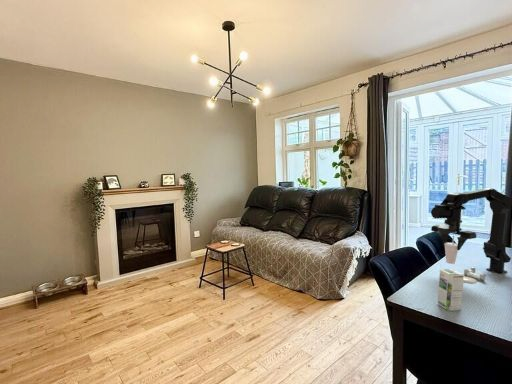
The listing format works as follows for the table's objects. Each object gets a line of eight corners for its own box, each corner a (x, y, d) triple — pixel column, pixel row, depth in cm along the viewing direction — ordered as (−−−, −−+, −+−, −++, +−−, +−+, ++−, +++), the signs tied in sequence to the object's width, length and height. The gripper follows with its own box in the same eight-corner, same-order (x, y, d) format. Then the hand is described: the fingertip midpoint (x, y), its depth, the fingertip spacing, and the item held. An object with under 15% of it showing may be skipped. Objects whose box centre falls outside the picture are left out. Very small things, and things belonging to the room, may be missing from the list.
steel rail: (471, 272, 141) (472, 267, 141) (492, 279, 133) (492, 273, 133) (463, 275, 138) (463, 269, 138) (483, 281, 130) (483, 275, 130)
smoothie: (460, 265, 136) (462, 237, 135) (446, 264, 138) (448, 237, 136) (454, 260, 143) (456, 234, 141) (440, 259, 144) (442, 233, 143)
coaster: (462, 275, 138) (462, 274, 138) (480, 281, 131) (480, 280, 131) (452, 278, 135) (452, 277, 135) (470, 284, 128) (470, 283, 128)
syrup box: (436, 303, 110) (438, 269, 109) (450, 303, 111) (452, 268, 109) (447, 311, 105) (450, 274, 103) (462, 310, 105) (464, 274, 104)
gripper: (425, 216, 143) (423, 245, 145) (463, 222, 126) (461, 255, 128) (439, 214, 148) (437, 242, 149) (478, 221, 131) (475, 252, 132)
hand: (451, 248), depth 140 cm, fingers closed on smoothie, 6 cm apart
